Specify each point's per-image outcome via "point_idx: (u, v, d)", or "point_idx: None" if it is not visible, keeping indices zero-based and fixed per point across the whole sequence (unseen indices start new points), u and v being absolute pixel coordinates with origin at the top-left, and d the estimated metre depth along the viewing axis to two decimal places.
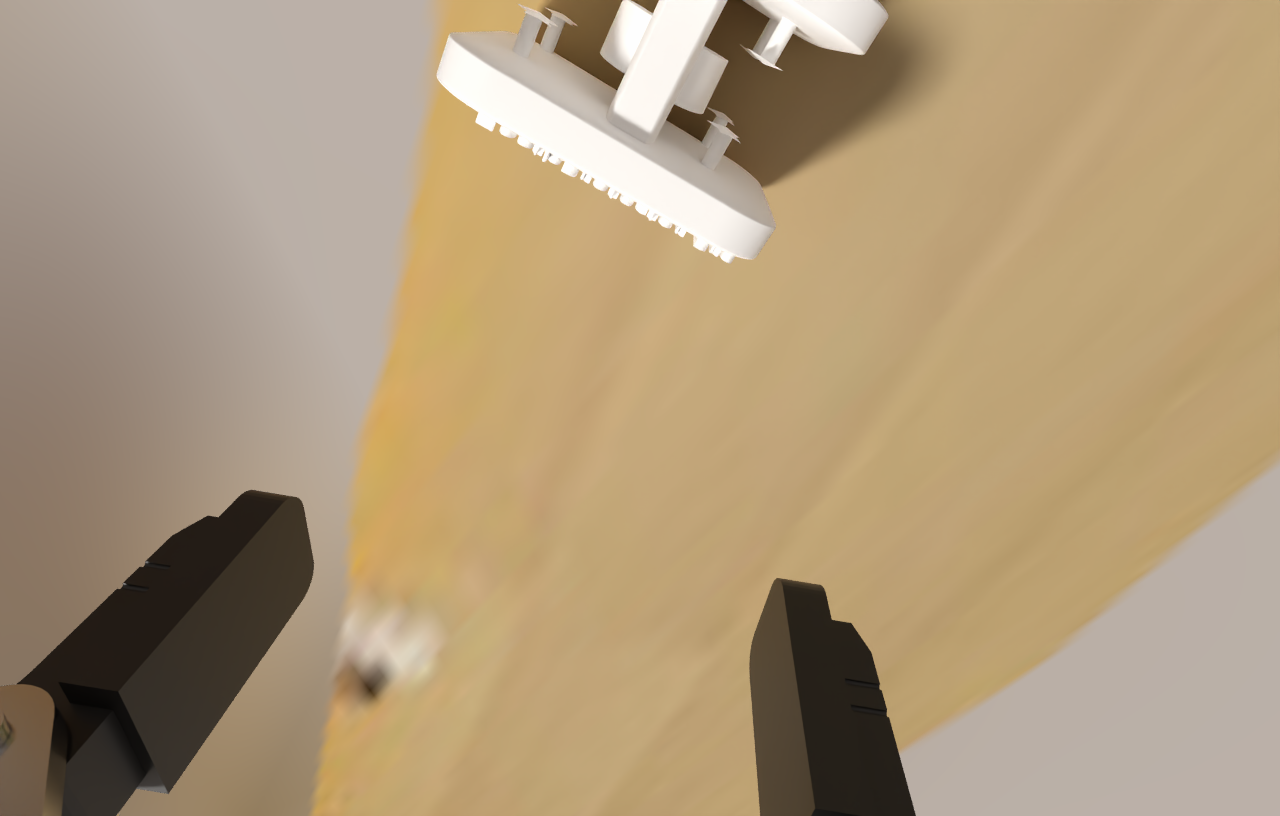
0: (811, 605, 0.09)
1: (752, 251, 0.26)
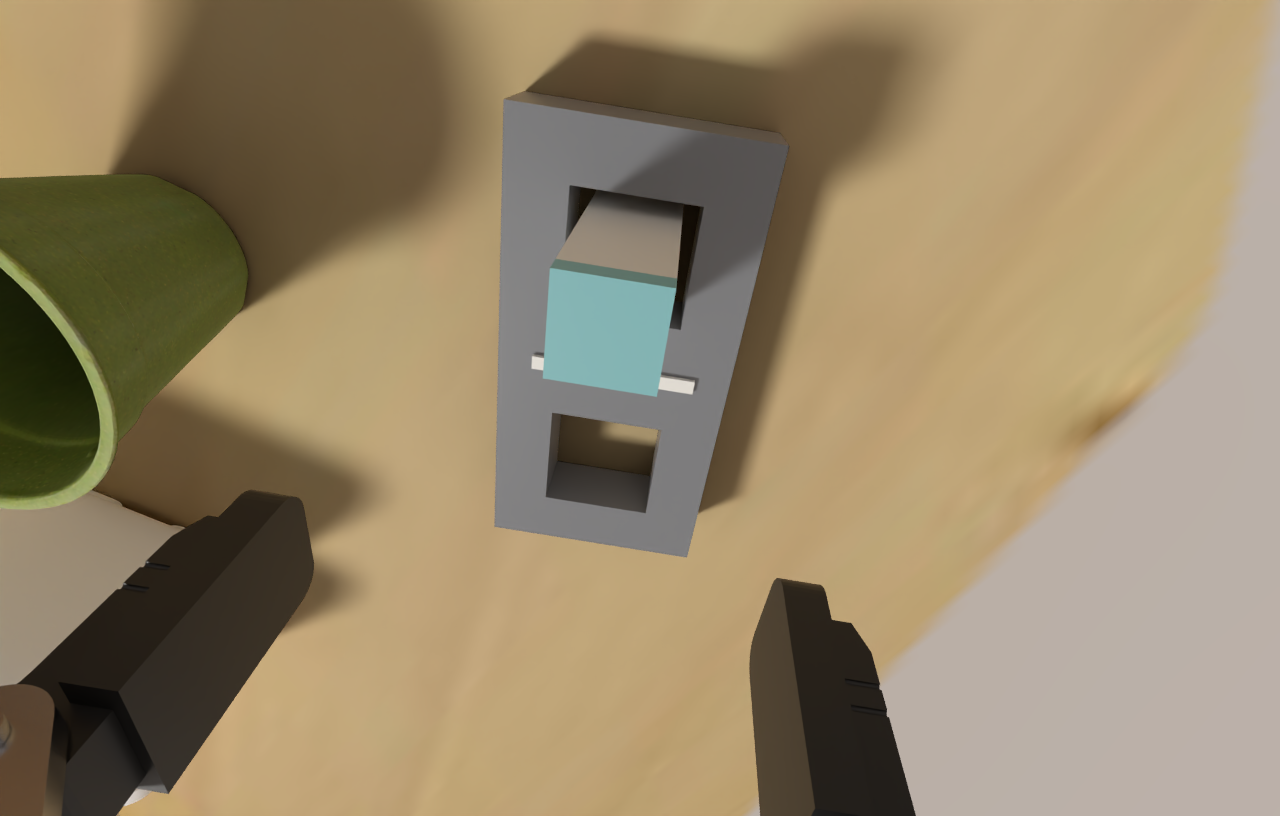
0: (811, 605, 0.09)
1: (133, 800, 0.35)
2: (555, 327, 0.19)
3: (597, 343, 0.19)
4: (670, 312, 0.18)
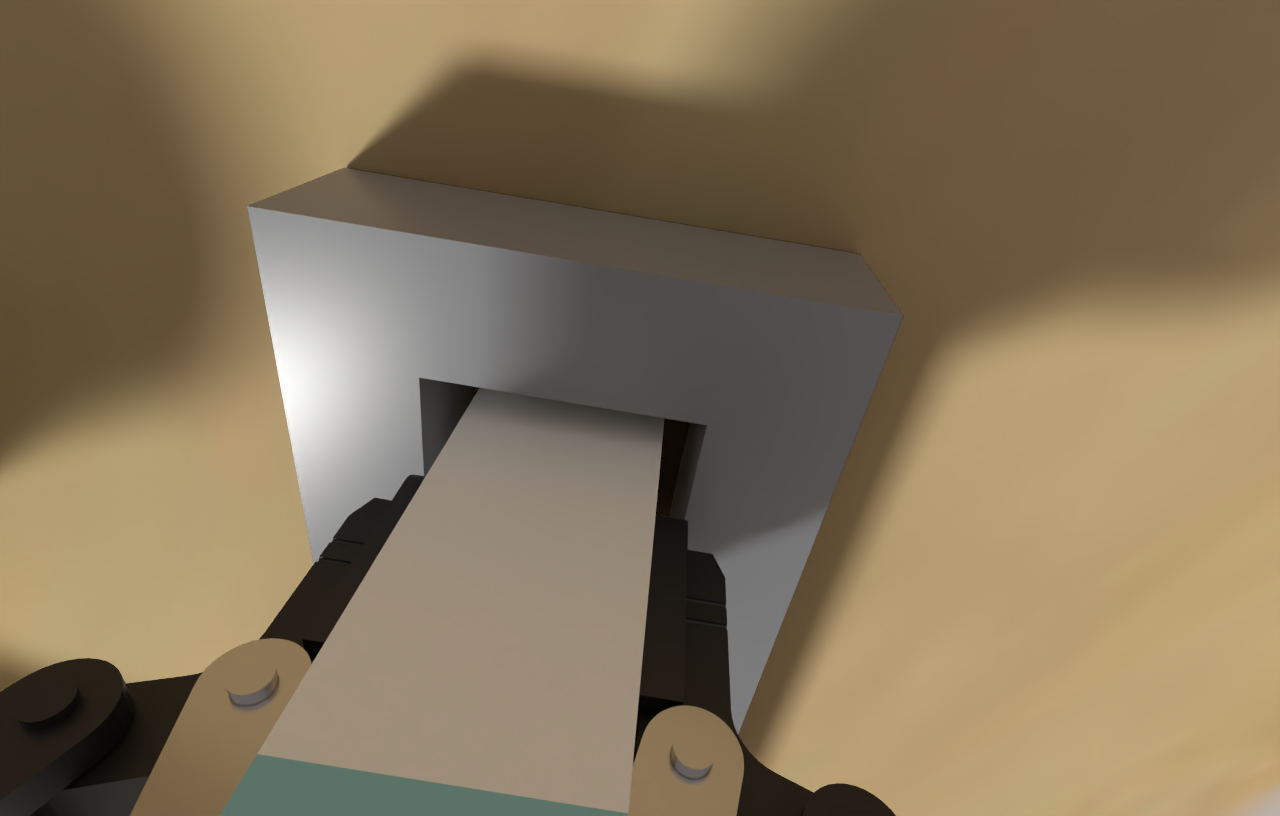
0: (671, 535, 0.10)
1: None
2: None
3: None
4: None
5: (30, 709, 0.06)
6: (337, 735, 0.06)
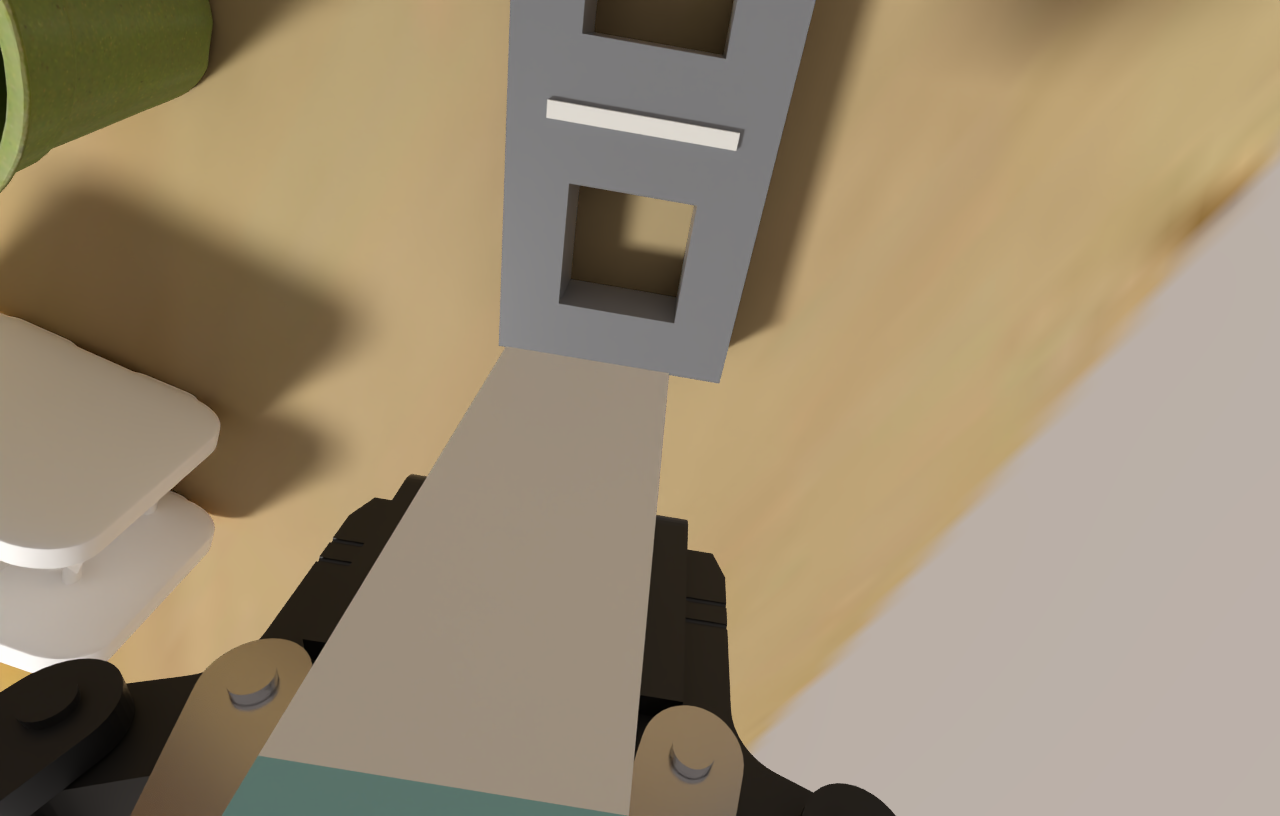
0: (671, 535, 0.10)
1: None
2: None
3: None
4: None
5: (31, 709, 0.06)
6: (338, 737, 0.06)
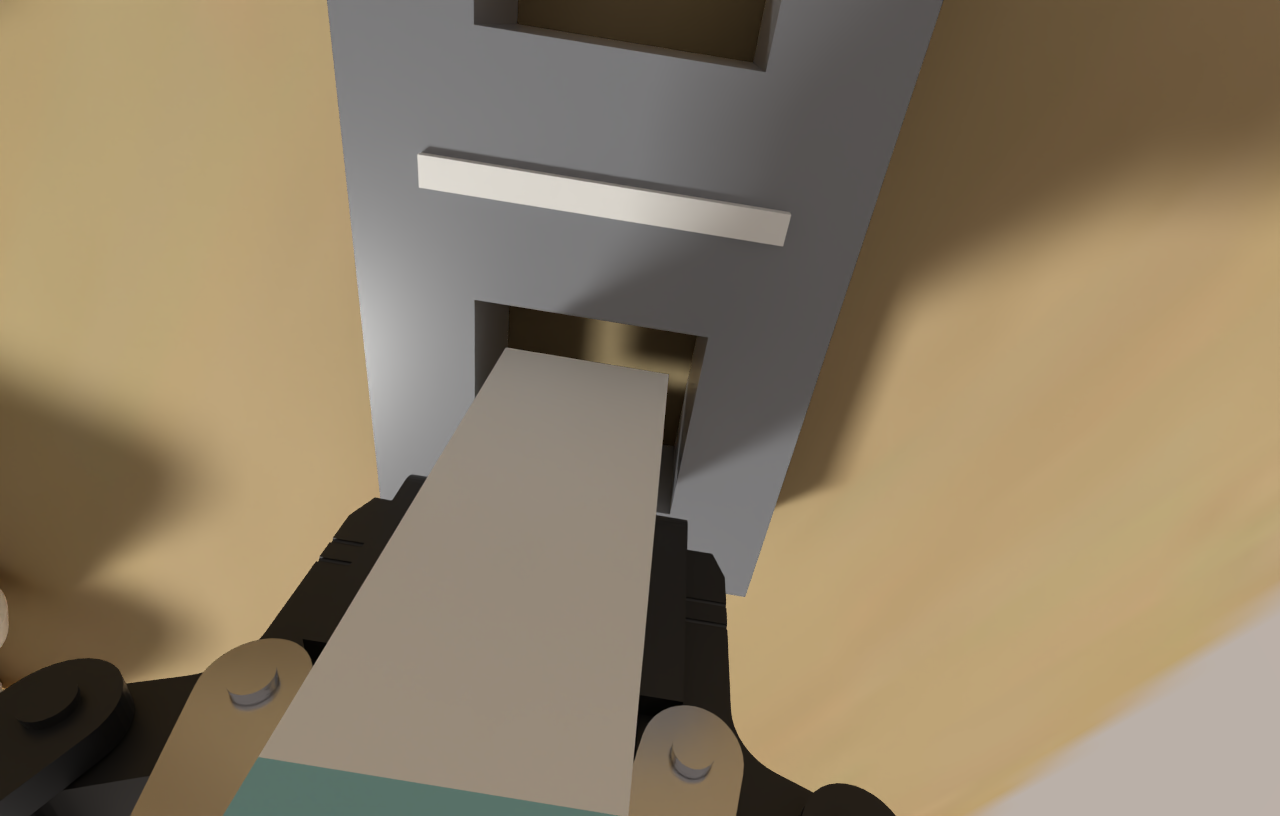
0: (671, 535, 0.10)
1: None
2: None
3: None
4: None
5: (31, 709, 0.06)
6: (338, 738, 0.06)
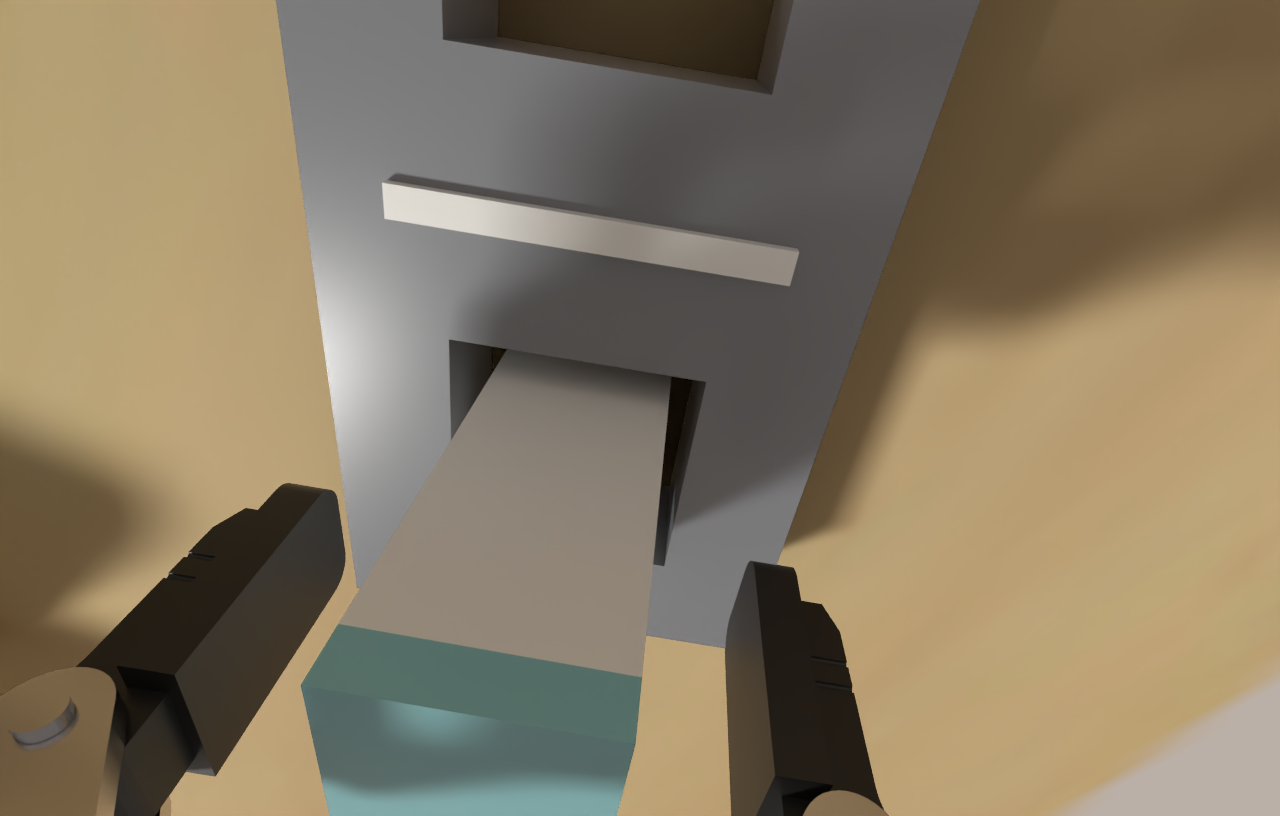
0: (781, 586, 0.10)
1: None
2: (343, 778, 0.08)
3: (447, 810, 0.08)
4: (621, 780, 0.07)
5: None
6: (402, 613, 0.08)
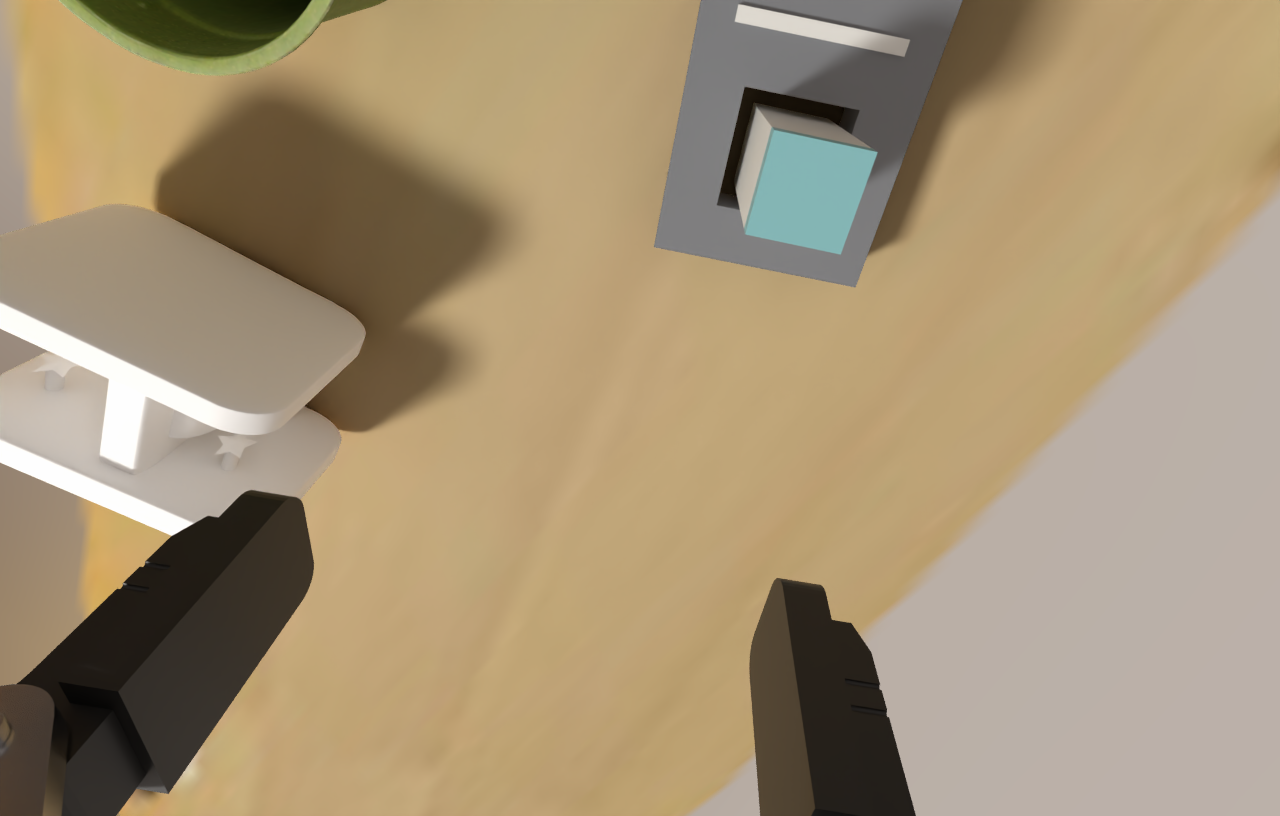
0: (811, 605, 0.09)
1: None
2: (766, 186, 0.22)
3: (799, 202, 0.22)
4: (868, 174, 0.22)
5: None
6: (788, 129, 0.22)
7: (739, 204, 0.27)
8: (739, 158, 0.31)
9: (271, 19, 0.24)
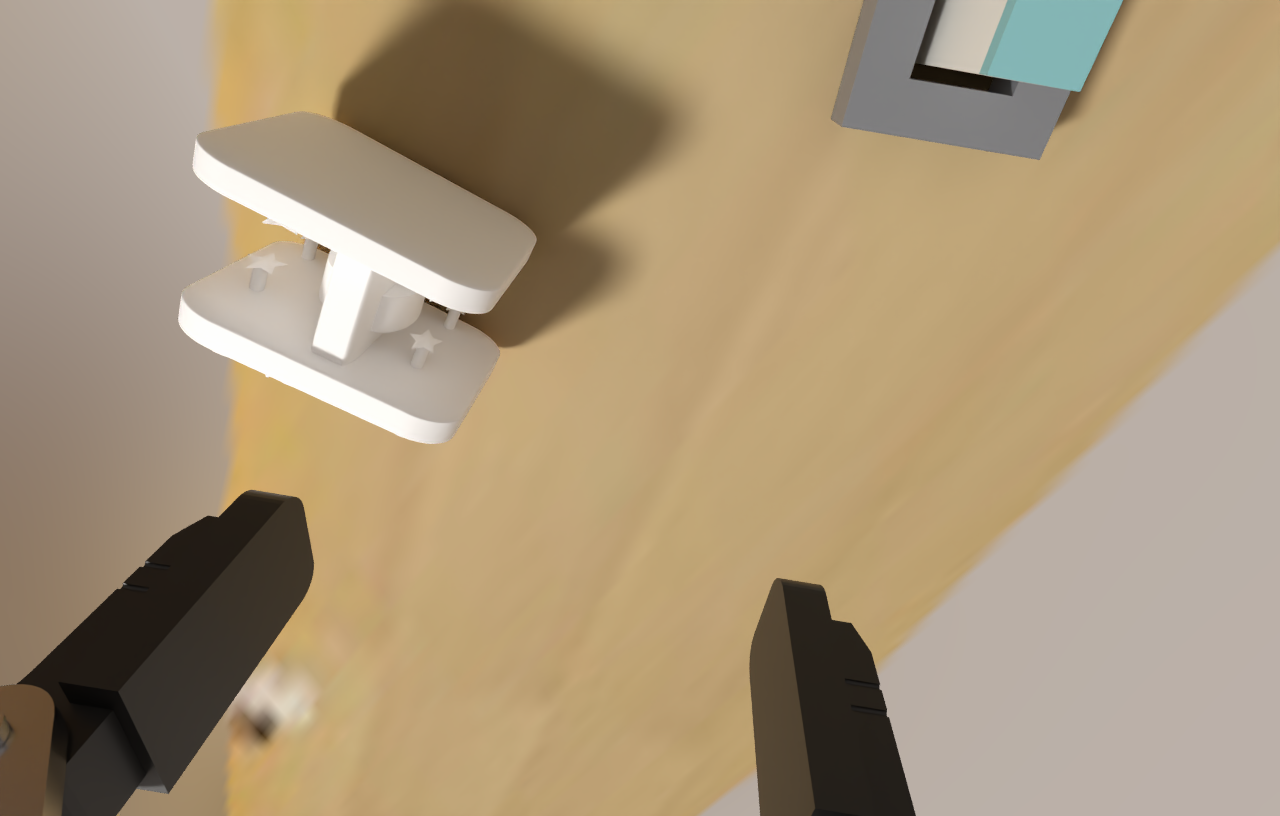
0: (811, 605, 0.09)
1: (440, 438, 0.34)
2: (1016, 21, 0.23)
3: (1046, 37, 0.23)
4: (1120, 3, 0.22)
5: None
6: None
7: (948, 66, 0.28)
8: None
9: None
